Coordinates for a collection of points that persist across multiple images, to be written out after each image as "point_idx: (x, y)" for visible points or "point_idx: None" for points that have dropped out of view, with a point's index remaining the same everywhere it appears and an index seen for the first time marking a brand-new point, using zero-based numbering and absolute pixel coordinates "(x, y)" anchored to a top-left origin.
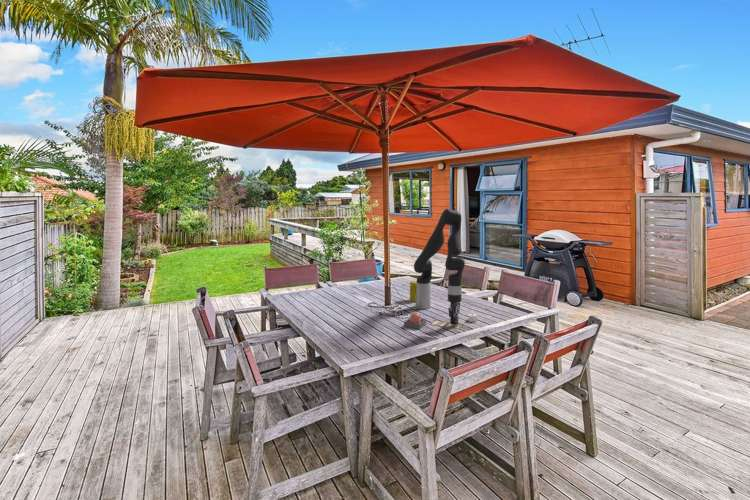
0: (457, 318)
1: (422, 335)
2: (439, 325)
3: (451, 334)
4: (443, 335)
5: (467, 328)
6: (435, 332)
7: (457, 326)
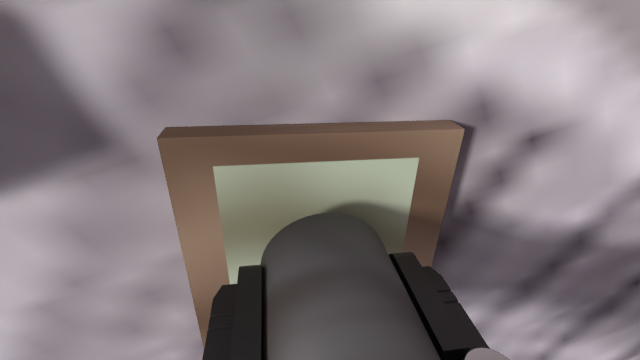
0: (383, 300)
1: (616, 337)
2: None
3: (579, 164)
4: (614, 220)
5: (253, 44)
6: (535, 303)
7: (331, 198)
